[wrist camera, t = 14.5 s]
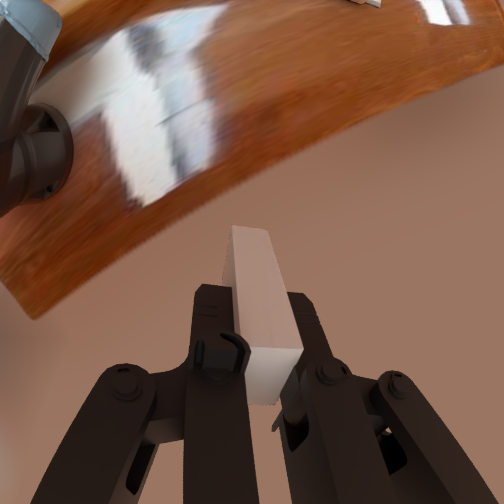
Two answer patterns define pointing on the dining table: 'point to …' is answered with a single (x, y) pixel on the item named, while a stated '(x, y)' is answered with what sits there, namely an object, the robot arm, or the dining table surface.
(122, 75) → the dining table surface
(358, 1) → the walnut block
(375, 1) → the white flat rectangular slab
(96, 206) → the dining table surface
